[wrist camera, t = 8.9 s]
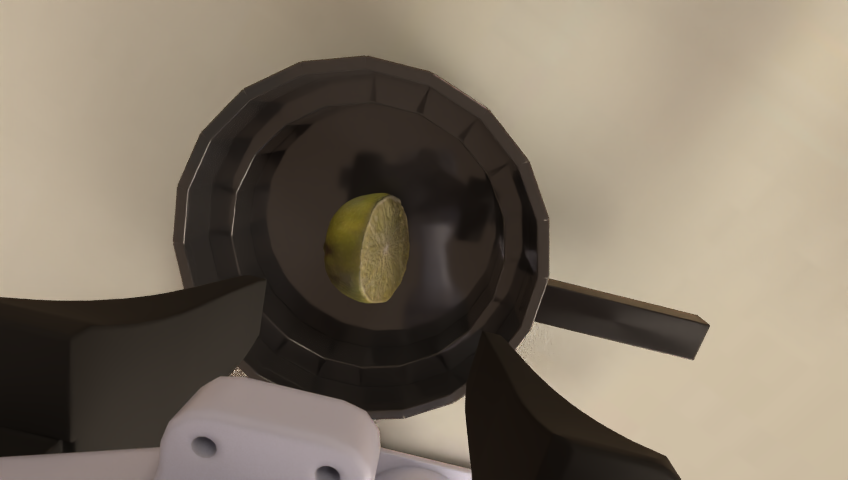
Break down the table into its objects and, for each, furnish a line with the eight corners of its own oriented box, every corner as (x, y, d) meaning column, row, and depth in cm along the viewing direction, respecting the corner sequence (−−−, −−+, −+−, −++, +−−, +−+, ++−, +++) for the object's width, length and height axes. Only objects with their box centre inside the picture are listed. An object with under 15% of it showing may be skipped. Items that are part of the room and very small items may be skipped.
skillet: (481, 395, 25) (488, 453, 21) (212, 329, 25) (162, 374, 20) (573, 115, 20) (606, 115, 16) (245, 33, 20) (189, 10, 16)
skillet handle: (682, 349, 20) (693, 361, 19) (518, 309, 20) (521, 318, 19) (698, 314, 19) (711, 325, 18) (530, 273, 19) (534, 281, 18)
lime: (387, 172, 21) (369, 188, 16) (441, 250, 22) (439, 287, 17) (317, 221, 22) (280, 249, 17) (372, 294, 23) (352, 341, 18)
